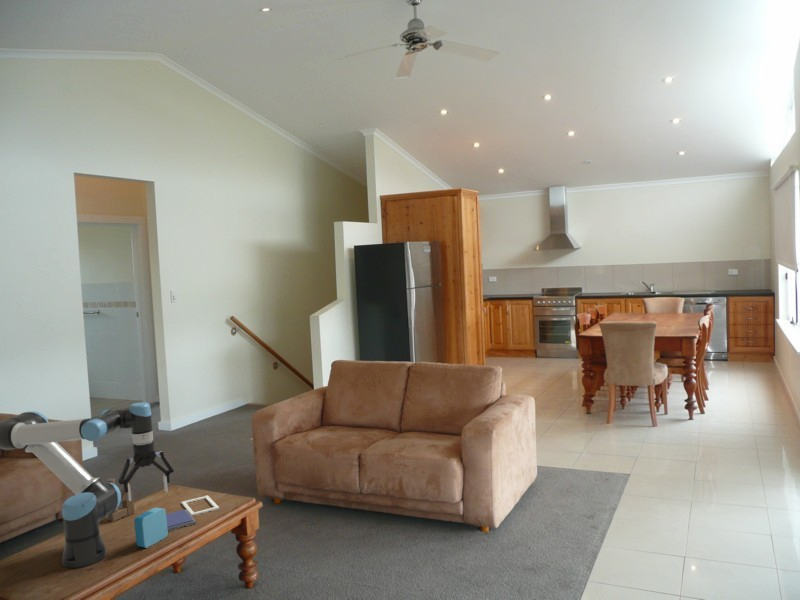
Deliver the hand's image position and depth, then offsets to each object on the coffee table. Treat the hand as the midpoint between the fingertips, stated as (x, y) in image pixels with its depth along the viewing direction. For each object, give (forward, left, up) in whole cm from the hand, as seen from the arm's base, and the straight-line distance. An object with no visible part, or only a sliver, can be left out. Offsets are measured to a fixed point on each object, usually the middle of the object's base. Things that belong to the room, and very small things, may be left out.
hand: (148, 495), depth 252 cm
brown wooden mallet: (-6, +38, -19) cm, 42 cm away
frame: (+25, +26, -19) cm, 40 cm away
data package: (0, 0, -19) cm, 19 cm away
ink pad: (+11, +15, -19) cm, 26 cm away
